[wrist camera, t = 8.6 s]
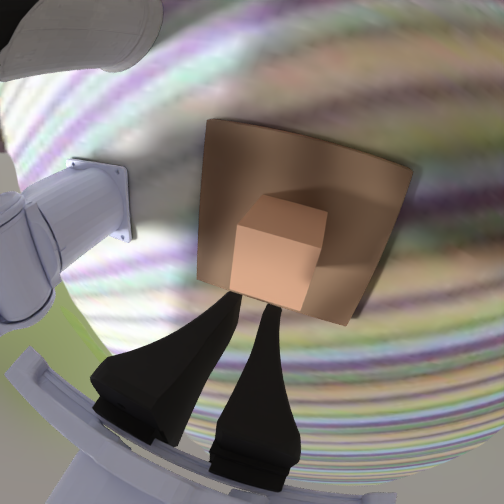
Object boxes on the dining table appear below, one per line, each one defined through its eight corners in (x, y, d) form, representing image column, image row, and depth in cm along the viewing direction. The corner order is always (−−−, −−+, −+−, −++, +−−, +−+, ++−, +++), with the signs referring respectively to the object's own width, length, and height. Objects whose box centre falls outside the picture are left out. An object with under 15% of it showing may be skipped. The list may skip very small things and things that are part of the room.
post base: (201, 273, 26) (173, 308, 21) (213, 118, 18) (173, 127, 14) (346, 318, 23) (342, 364, 19) (409, 168, 15) (432, 192, 11)
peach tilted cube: (253, 249, 21) (229, 289, 17) (262, 194, 19) (237, 224, 15) (311, 266, 20) (300, 311, 16) (327, 212, 18) (321, 248, 14)
